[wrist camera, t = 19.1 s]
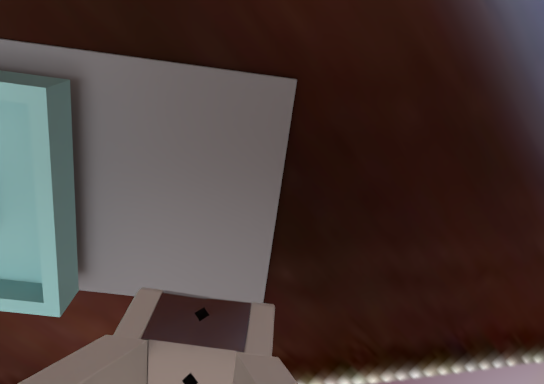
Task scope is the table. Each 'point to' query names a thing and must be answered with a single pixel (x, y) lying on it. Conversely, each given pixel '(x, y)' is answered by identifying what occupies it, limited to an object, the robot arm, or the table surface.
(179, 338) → the robot arm
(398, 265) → the table surface
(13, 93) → the cyan square tray
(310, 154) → the table surface
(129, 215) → the grey rectangular mat
